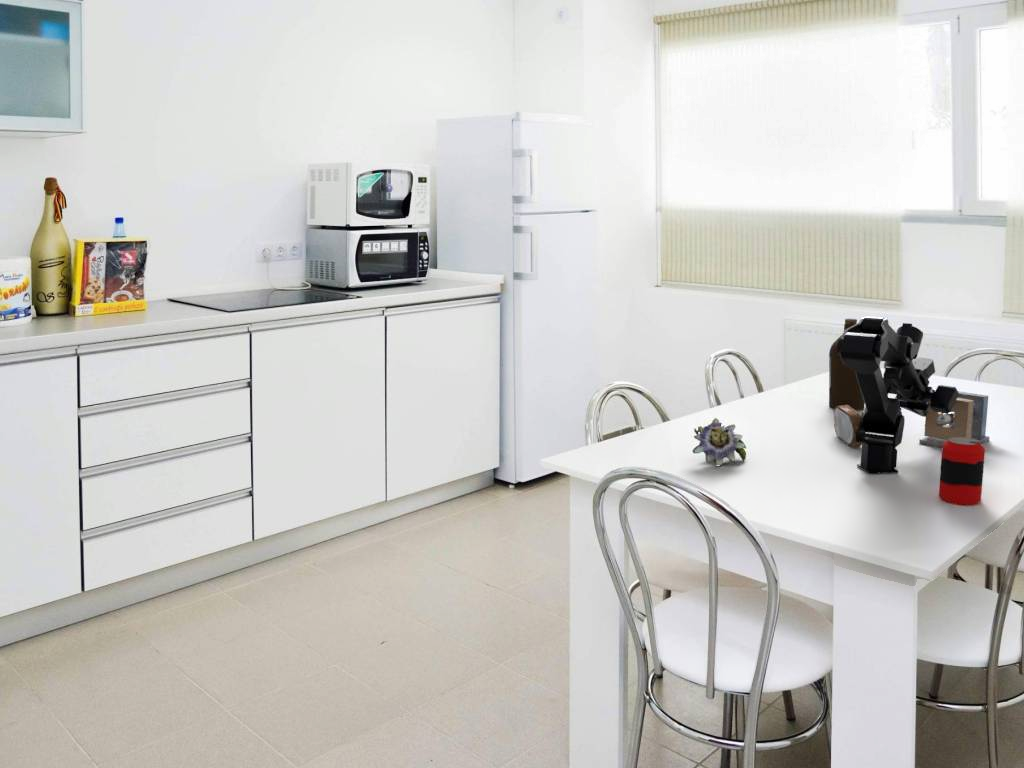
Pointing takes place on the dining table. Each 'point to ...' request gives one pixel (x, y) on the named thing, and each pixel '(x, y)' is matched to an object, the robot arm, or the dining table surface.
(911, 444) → the dining table surface
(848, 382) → the olive oil
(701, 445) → the passion flower
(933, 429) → the wooden block on rod
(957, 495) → the soda can
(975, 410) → the stand
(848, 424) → the tin
